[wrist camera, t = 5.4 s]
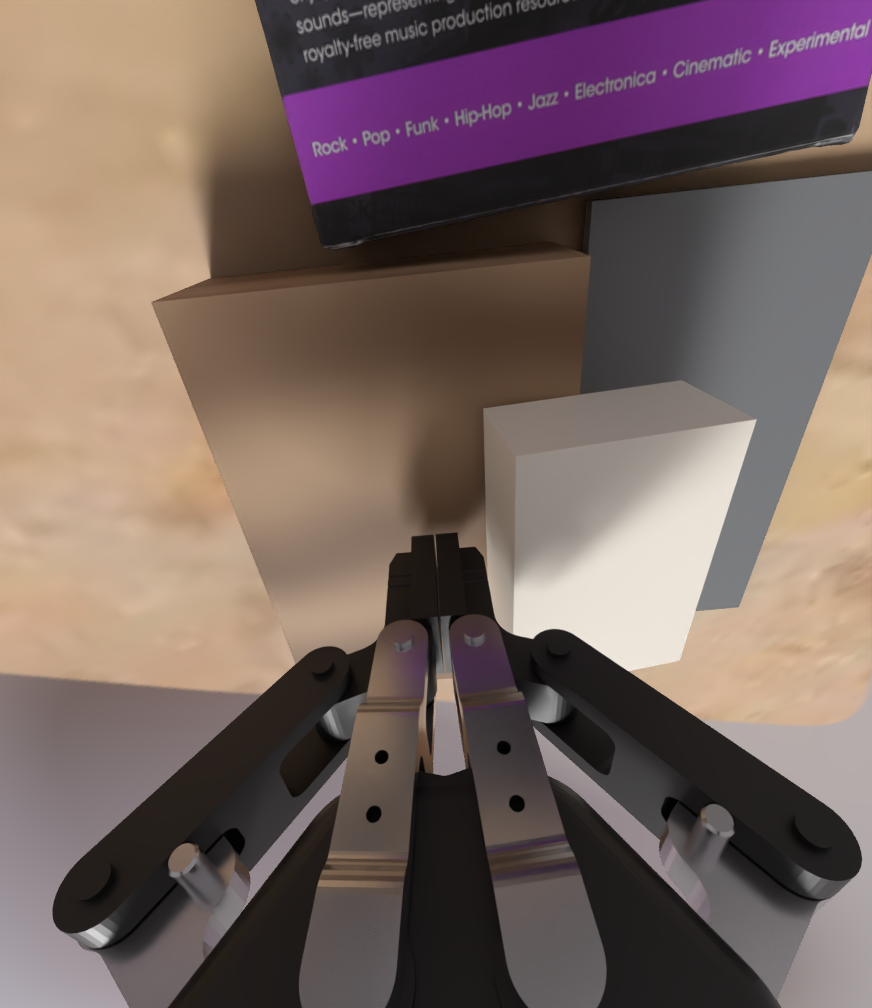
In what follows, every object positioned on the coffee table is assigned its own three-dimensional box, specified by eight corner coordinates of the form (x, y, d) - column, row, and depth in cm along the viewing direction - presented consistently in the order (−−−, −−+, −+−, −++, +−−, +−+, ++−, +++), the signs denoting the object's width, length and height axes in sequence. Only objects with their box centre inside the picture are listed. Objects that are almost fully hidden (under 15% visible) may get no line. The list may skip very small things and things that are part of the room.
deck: (210, 278, 15) (151, 302, 12) (551, 242, 15) (590, 255, 11) (322, 621, 24) (306, 690, 21) (537, 602, 24) (557, 669, 20)
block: (483, 408, 13) (516, 456, 11) (681, 380, 14) (756, 419, 11) (488, 627, 18) (512, 694, 16) (634, 599, 19) (679, 660, 16)
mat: (586, 200, 14) (592, 201, 14) (887, 168, 14) (904, 167, 14) (556, 614, 24) (559, 622, 24) (731, 598, 24) (738, 607, 24)
